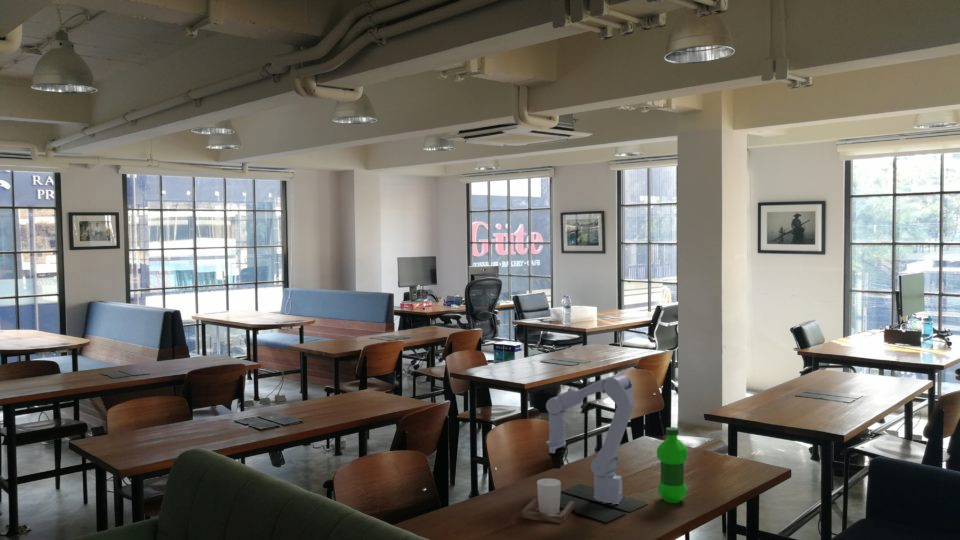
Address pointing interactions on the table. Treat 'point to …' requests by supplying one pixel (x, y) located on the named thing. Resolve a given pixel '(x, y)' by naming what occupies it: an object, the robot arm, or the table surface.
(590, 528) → the table surface
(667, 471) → the plastic bottle
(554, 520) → the walnut bay
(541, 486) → the white cup
